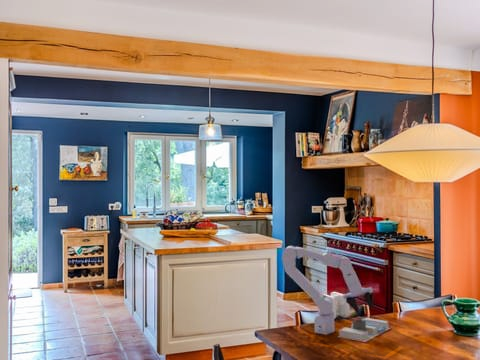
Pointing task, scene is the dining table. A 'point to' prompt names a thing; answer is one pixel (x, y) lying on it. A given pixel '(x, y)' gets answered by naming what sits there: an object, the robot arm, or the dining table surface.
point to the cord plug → (359, 324)
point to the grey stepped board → (372, 330)
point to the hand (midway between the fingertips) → (365, 310)
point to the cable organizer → (339, 305)
